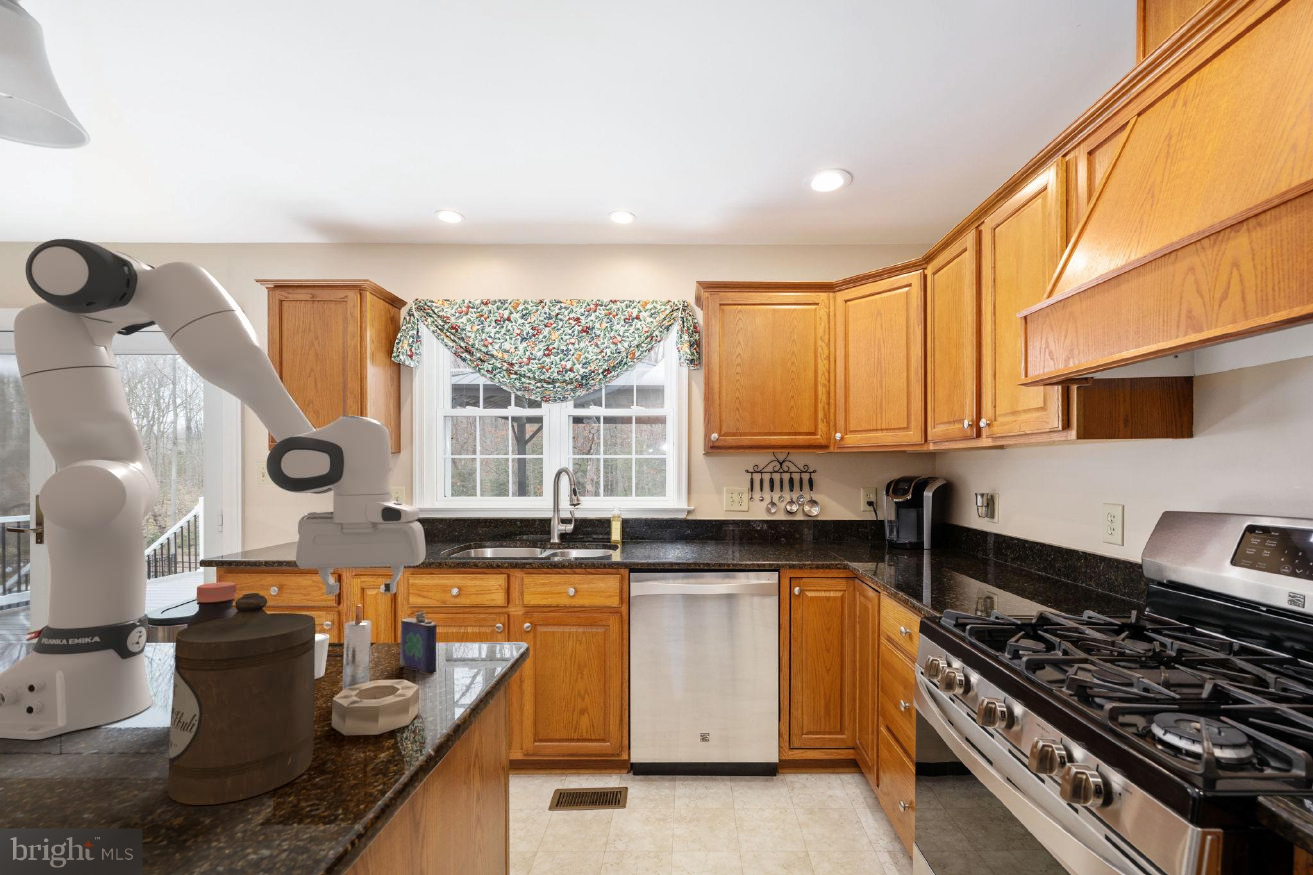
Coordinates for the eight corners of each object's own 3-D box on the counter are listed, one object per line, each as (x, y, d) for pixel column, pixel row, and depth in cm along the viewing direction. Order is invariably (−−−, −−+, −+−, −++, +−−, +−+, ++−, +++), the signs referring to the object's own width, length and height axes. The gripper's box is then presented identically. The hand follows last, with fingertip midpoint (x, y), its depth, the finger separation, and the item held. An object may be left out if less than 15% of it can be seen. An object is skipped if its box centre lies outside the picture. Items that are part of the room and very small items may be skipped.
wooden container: (188, 759, 78) (197, 588, 80) (318, 739, 84) (324, 580, 86) (146, 819, 65) (157, 611, 66) (304, 790, 71) (312, 600, 72)
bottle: (219, 727, 88) (225, 588, 89) (170, 728, 88) (177, 589, 89) (247, 709, 95) (253, 580, 96) (202, 710, 95) (208, 581, 96)
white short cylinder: (308, 683, 107) (310, 643, 107) (275, 680, 108) (277, 641, 108) (336, 671, 113) (338, 633, 114) (305, 668, 115) (306, 631, 115)
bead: (321, 736, 86) (322, 707, 86) (353, 706, 96) (354, 680, 97) (401, 733, 86) (402, 705, 87) (424, 704, 97) (425, 679, 98)
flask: (396, 666, 116) (398, 610, 117) (410, 662, 119) (411, 607, 120) (428, 675, 112) (429, 616, 112) (441, 671, 114) (442, 613, 115)
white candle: (337, 701, 99) (341, 607, 100) (348, 692, 103) (351, 602, 104) (363, 700, 99) (366, 607, 100) (372, 691, 103) (375, 602, 104)
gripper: (288, 513, 99) (287, 599, 98) (417, 511, 100) (417, 595, 100) (307, 511, 105) (306, 591, 104) (428, 508, 107) (428, 588, 106)
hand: (361, 593), depth 102 cm, fingers open, 8 cm apart
